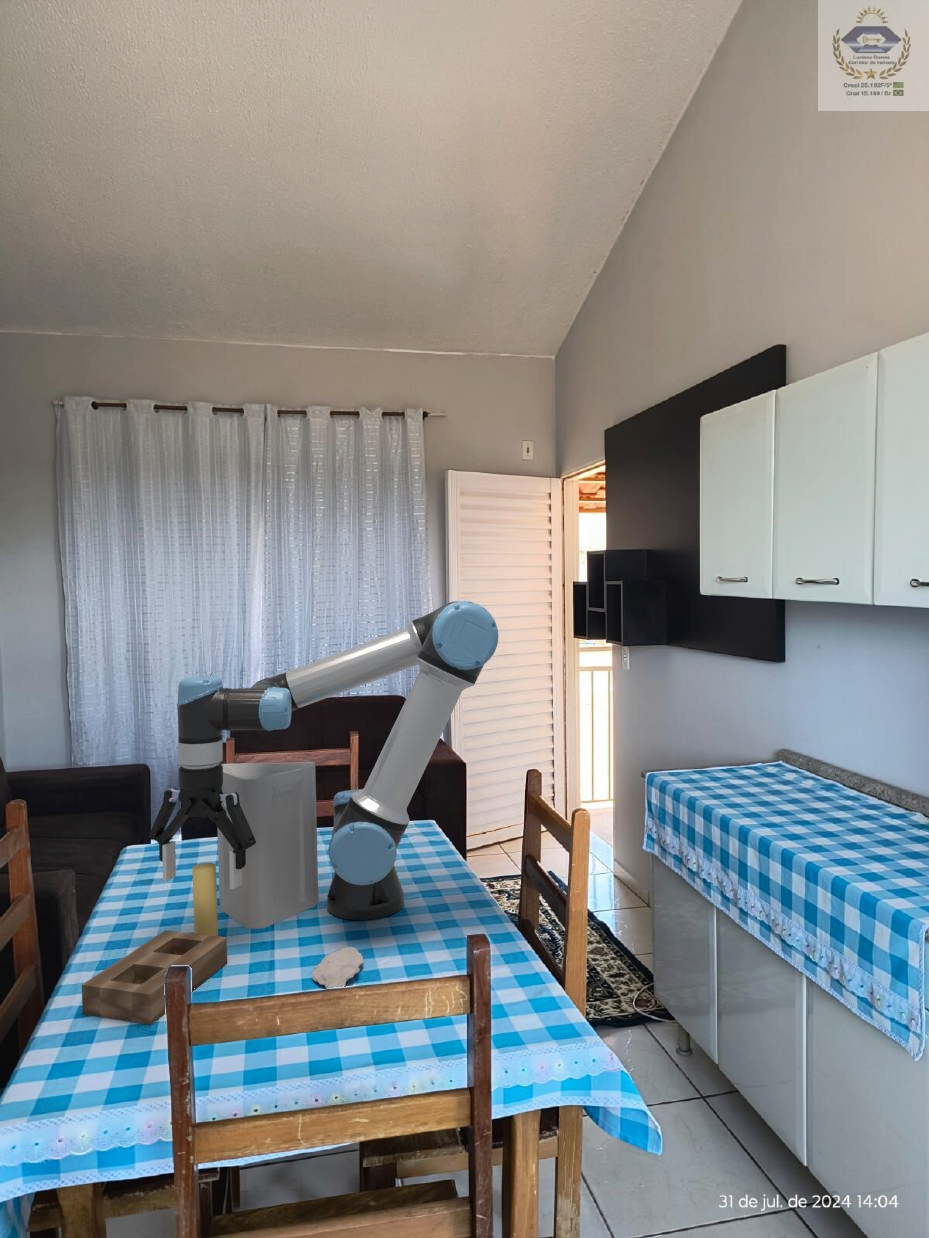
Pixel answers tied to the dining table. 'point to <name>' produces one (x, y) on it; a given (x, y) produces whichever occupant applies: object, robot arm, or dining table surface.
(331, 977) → the stone tool
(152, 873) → the dining table surface
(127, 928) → the dining table surface
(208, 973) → the socket board
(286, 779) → the grey triangular prism
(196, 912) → the dowel
